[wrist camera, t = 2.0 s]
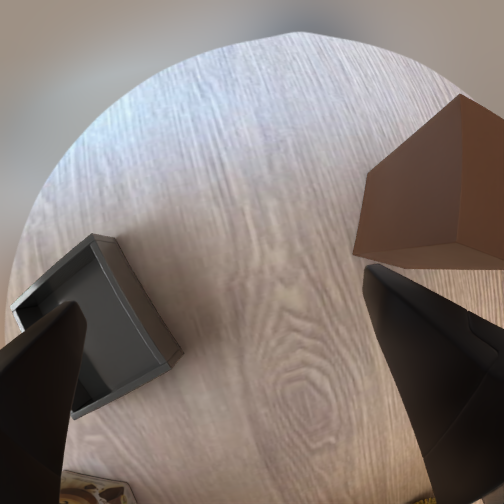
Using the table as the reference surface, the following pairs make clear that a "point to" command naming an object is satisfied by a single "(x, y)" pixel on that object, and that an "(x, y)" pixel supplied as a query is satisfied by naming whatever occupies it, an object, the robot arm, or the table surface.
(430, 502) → the sculpture
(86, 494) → the coffee box
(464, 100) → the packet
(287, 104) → the table surface
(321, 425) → the table surface
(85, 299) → the open box
